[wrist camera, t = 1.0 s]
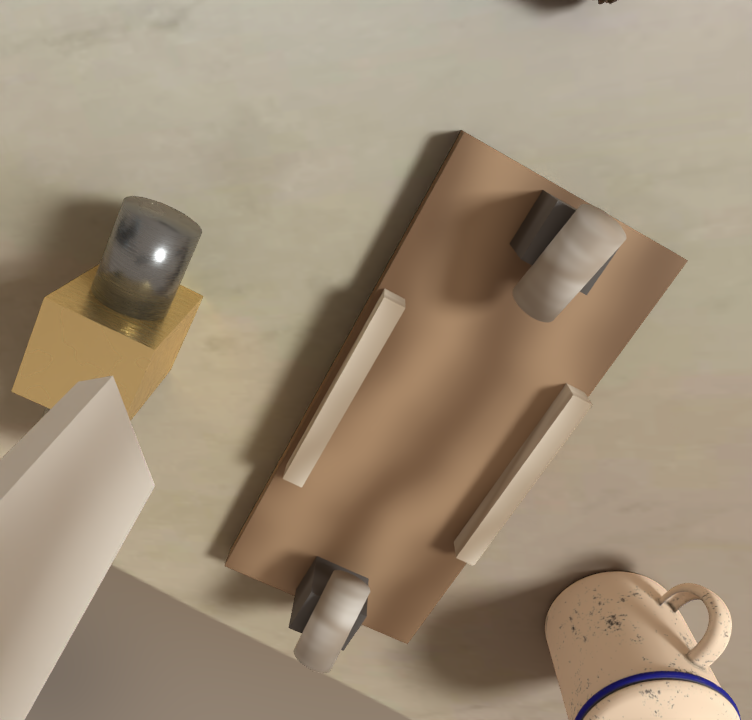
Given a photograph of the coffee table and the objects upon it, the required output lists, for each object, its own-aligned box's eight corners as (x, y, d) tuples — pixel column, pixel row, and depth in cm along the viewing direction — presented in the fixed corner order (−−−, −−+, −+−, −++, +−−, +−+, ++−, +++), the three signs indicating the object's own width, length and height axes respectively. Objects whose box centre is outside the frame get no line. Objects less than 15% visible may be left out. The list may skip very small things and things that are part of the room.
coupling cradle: (229, 551, 43) (199, 636, 36) (462, 129, 33) (479, 139, 26) (406, 627, 45) (408, 721, 38) (676, 252, 35) (744, 292, 28)
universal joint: (62, 394, 39) (-16, 467, 31) (146, 177, 34) (77, 202, 26) (143, 430, 40) (85, 510, 32) (236, 223, 35) (193, 260, 27)
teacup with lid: (620, 689, 46) (689, 871, 36) (513, 637, 45) (550, 811, 34) (738, 571, 42) (856, 737, 32) (624, 510, 41) (707, 662, 30)
